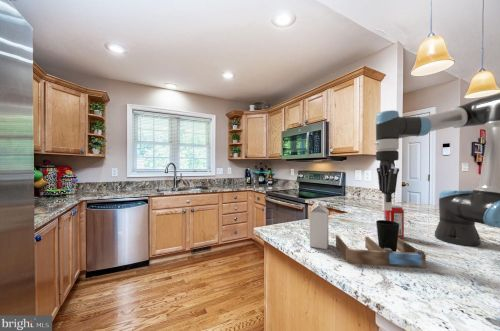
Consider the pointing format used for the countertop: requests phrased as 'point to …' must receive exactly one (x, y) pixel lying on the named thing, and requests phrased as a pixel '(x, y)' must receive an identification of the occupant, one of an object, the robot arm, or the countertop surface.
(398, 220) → the soda can
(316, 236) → the milk carton
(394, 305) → the countertop surface
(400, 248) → the comb rack
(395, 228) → the cup
